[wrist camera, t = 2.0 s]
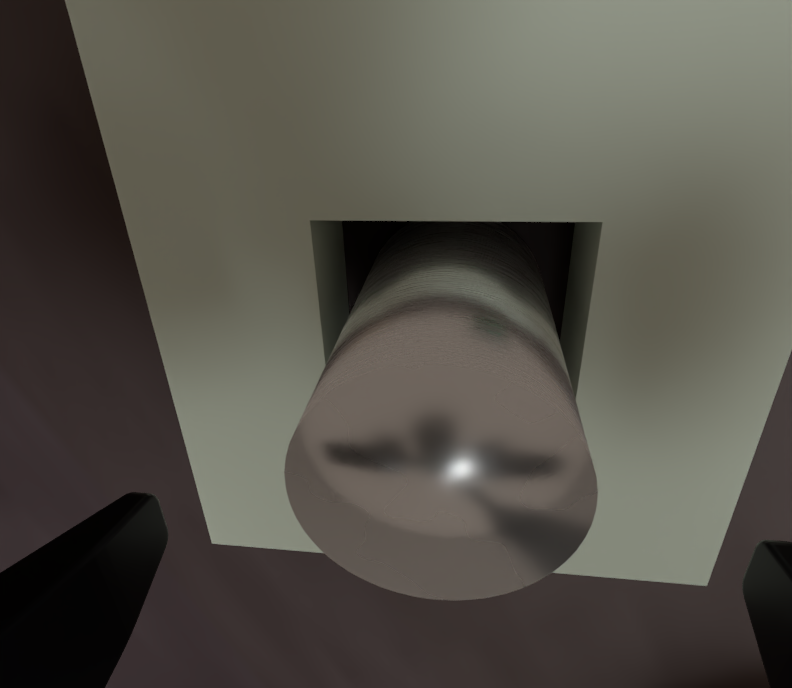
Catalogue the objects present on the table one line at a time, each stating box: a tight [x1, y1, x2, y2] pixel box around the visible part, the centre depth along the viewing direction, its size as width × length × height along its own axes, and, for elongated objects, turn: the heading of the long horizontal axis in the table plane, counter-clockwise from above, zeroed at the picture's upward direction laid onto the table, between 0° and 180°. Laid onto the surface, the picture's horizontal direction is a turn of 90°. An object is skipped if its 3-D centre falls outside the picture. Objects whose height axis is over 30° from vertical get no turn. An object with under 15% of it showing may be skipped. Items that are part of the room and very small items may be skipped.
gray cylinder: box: [284, 221, 598, 600], centre depth 12 cm, size 5×5×8 cm
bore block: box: [65, 0, 792, 586], centre depth 14 cm, size 15×15×3 cm
